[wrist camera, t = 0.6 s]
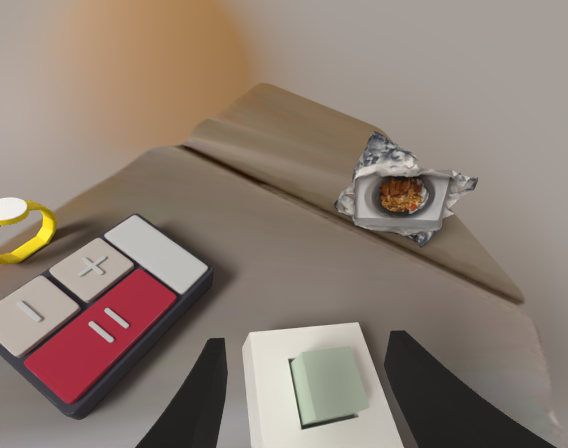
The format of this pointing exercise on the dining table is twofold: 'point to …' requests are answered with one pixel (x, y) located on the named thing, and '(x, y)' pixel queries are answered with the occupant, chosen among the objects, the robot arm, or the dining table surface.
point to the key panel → (281, 398)
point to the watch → (16, 211)
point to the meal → (400, 192)
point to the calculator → (99, 312)
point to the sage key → (327, 385)
